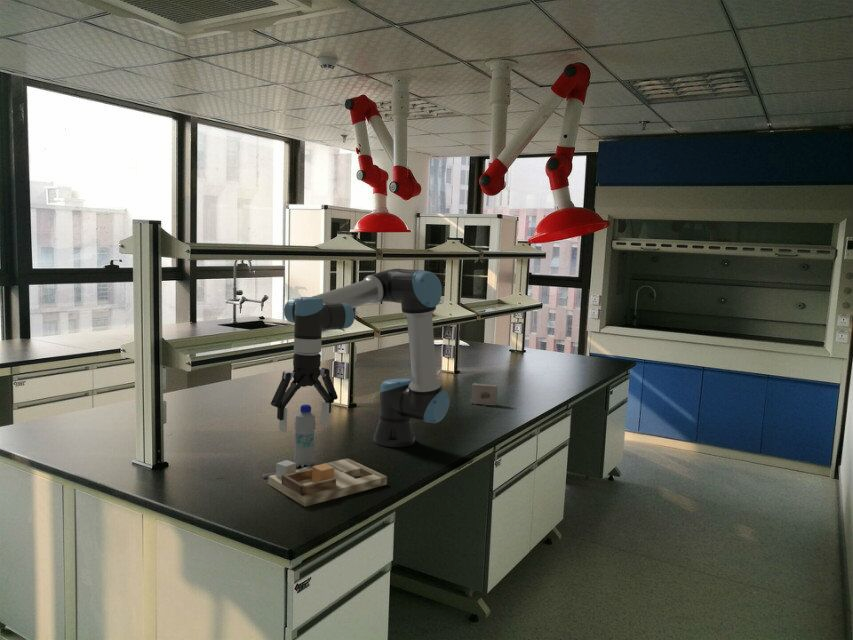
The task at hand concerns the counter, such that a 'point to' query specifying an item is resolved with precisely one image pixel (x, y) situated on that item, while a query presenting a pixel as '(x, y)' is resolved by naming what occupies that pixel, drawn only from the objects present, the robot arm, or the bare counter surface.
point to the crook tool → (268, 475)
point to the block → (285, 468)
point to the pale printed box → (484, 394)
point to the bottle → (304, 437)
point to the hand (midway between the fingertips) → (304, 427)
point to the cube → (322, 472)
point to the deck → (344, 482)
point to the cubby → (294, 485)
